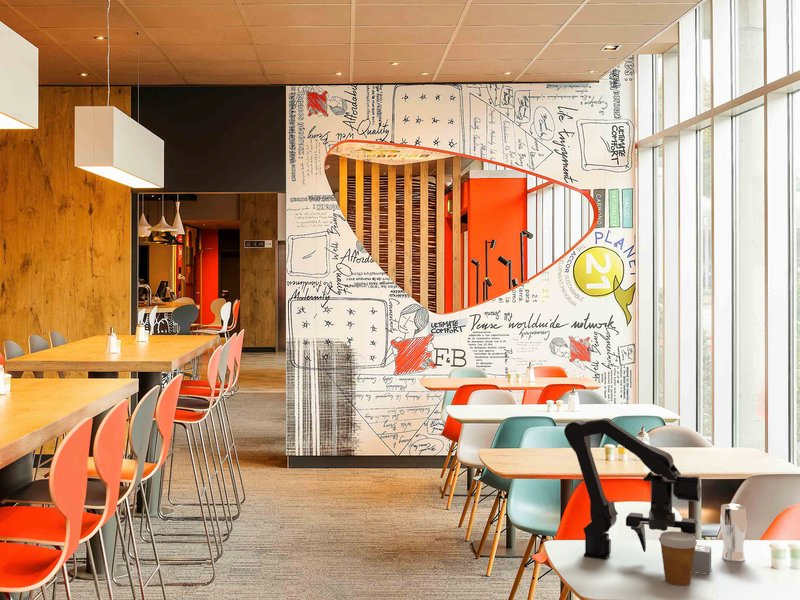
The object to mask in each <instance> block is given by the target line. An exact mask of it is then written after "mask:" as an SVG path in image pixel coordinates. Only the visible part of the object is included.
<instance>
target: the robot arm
mask: <svg viewBox="0 0 800 600" xmlns="http://www.w3.org/2000/svg"><path fill="white" fill-rule="evenodd" d="M563 433H564V435H565V438H566V440H567V442H568V445H569V446H570V447H571V449H572V450H573V451H574V453H575V455H576V458H577V462H578V466H579V467H580V471H581V475H582V478H583V481H584V484H585V488H586V491H587V494H588V498H589V503H590V504H589V513H590V522H589V524H587V525H586V526H585V527H583V532H584V533H583V534H584V535H585V537H584V539H585V540H584V543H585V546H584V553H583V556H584V557H590V558H596V559H604V560H606V559H608V557H609V556H610V555H611V552H612V540H611V538H610V533H608V532H609V531H610V529H611V528H612V527H613V526H615V524H616V522H617V519H618V518H617V516H618V515H619V513H618V511H617V510H616V505H615V501H614V500H611V501H609V500H608V498H607V497H606V495H605V492H604V489H603V486H602V482H601V480H600V475H599V472H598V469H597V466H596V463H595V460H594V456H593V452H592V450H591V444H592V442H591V441H592V440H591V439H592V437H591V436H593V435H598V434H603V435H605V436H606V437H608V438H610V439H611V440H613V441H614V442H615V443H616V444H618V445H620V446H622V447H623V448H624V449H626V450H627V451H629V452H630V453H632V454H633V455H634V456H636V457H637V458H638V459H639V460H640V461H641V462H642V463H643V465H645V466H646V468H648V470H649V472H648V473H647V475H646V476H645V477H643V481H644V482H650V509H649V511H648V517H644V514H643V513H641V512H640V513H639V512H629V514H627V516H626V518H625V526H626V527H630V529H631V530H632V531H634V532H635V533H636V535H637V537H638V539H639V542H640V544H641V549H642V551H643V552H644V553H645V552H646V550H647V541H646V530H645V525H647V526H648V528H649V529H650V530H652V531H655V530H658V531H659V530H660V531H662V532H667V531H668V528H676V529H677V528H678V529H680V531H679V532H684V533H688V534H691V535H694V534H697V532H698V529H699V527H698V525H699V523H698V521H697V519H696V518H688V517H682V518H681V520H676V513H675V512H673V496H674V497H675V498H677V500H680V501H687V502H688V501H689V502H690V501H691V502H700V501H701V496H702V487H701V481H700V476H698V475H692V476H691V475H689V476H688V475H681V472H680V470H679V469H678V468H677V467H676V465H675V464H674V458H673V456H672V455H671V454H670V453H669V452H667V451H664V450H663V449H660V448H657V447H655V446H652V445H649V444H647V443H645V442H644V441H642V440H640V439H639V438H638V437H637V436H635V435H633V434H631V433H630V432H629V431H627V430H626V429H624V428H622V427H621V426H620V425H618V424H617V423H616V422H613V421H612V419H610V418H609V417H603V418H601V419H596V420H589V421H584V420H582V419H576V420H573V421H571V422H569V423H568V424H566V426H565V427H564V431H563Z"/></svg>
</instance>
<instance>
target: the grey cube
mask: <svg viewBox="0 0 800 600" xmlns="http://www.w3.org/2000/svg"><path fill="white" fill-rule="evenodd" d="M710 570H712V546H707V545H700V544H696V546H695V551H694V559H693V566H692V573H694V572H698V573H697V574H702V573H706V574H705V575H710V574H711V571H710Z"/></svg>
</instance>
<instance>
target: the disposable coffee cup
mask: <svg viewBox="0 0 800 600" xmlns="http://www.w3.org/2000/svg"><path fill="white" fill-rule="evenodd" d="M658 541H659V544H660V549H661V557H662V564H663V565H662V566H663V574H664V581H665V582H666V583H668V584H670V585H675V586H687V585H690V584H691V580H692V579H691V578H692V575H693V574H692V573H693V572H692V566H693V559H694V551H695V546H696V545H698V541H697V540H696V537H695V536H694V534H688V533H684V532H680V531H675V530H674V531H673V530H671V531H662V532H661V533H660V535H659V538H658Z"/></svg>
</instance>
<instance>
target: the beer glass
mask: <svg viewBox="0 0 800 600" xmlns="http://www.w3.org/2000/svg"><path fill="white" fill-rule="evenodd" d="M746 509H747V508H746V506H744V505H741V504H737V503H724V504H721V505H720V518H719V519H720V521H719V522H720V530H721V531H720V532H721V536H722V542H723V543H722V544H723V549H722V554H721V558H722V559H723V560H724V561H728V562H734V563H741V562H744V561H745V559H746V558H745V553H744V543H745V537H746V533H747V510H746Z"/></svg>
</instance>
